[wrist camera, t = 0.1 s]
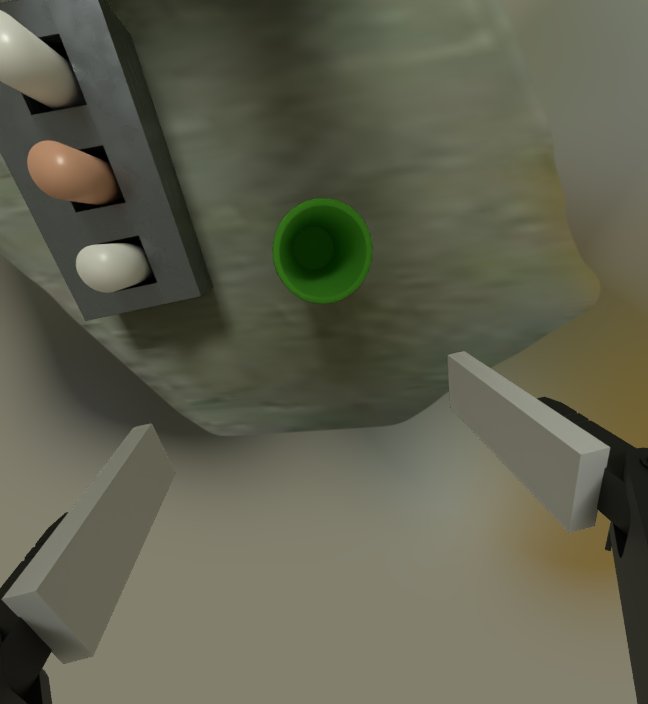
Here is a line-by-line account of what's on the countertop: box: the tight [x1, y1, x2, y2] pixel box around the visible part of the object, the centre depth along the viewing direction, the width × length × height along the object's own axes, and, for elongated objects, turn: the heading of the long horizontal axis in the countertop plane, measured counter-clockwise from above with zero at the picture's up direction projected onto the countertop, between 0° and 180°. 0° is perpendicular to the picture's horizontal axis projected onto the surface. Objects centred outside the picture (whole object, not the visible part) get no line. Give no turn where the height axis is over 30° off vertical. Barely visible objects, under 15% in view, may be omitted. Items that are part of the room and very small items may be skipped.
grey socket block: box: [0, 0, 213, 321], centre depth 31 cm, size 24×12×6 cm, turn 11°
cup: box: [273, 198, 373, 304], centre depth 33 cm, size 9×9×11 cm
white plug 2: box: [76, 242, 154, 293], centre depth 30 cm, size 4×4×7 cm
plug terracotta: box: [27, 140, 125, 206], centre depth 27 cm, size 4×4×7 cm
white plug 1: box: [0, 10, 87, 111], centre depth 24 cm, size 4×4×7 cm
